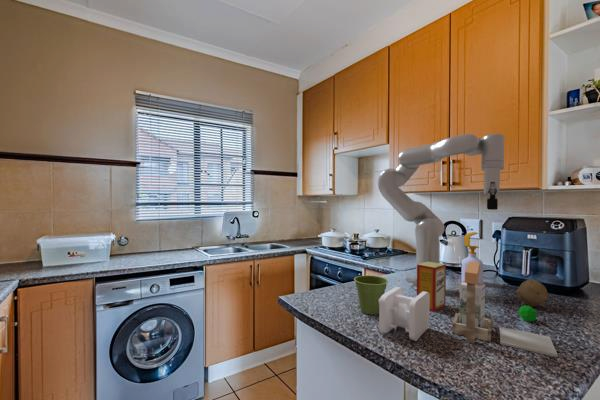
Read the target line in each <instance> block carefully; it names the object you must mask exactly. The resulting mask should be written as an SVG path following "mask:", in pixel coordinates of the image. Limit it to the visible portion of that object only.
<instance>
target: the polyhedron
mask: <svg viewBox="0 0 600 400" xmlns="http://www.w3.org/2000/svg"><path fill="white" fill-rule="evenodd" d="M518 315H519V317H520V318H521V319H522V320H524V321H525V322H527V323H528V322H529V323H532V322H534V321H536V320H537V317H538V312H537V310H536V309H534V307H533V306H530V305H527V304H526V305H522V306H520V307H519V309H518Z"/></svg>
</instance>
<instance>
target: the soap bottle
mask: <svg viewBox="0 0 600 400" xmlns="http://www.w3.org/2000/svg"><path fill="white" fill-rule="evenodd" d="M478 234H479V233H478V232H476V231H472V232H469V233H466V234H465V235H464V237H463V238H464V241H463V242H464V246H465V247H468V249H469V250H470V251H468V253H467V254H468V256H467V257H465V258H463V259H462V260H461V281H460V282H461V283H462V282H463V281H465V271H466V268H467V265H468V263H469V262H479V263H480V272H479V278H478V283H482V284H484V263H483V261H482V260H481V259H479V258H478V257H477V252H476V251H475V250H476V249H479V246H478V245H477V246H476V245H470V244H471V237H472V236H475V235H478Z"/></svg>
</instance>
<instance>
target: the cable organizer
mask: <svg viewBox="0 0 600 400" xmlns="http://www.w3.org/2000/svg"><path fill="white" fill-rule="evenodd" d="M379 303H380V304H379V318H378V319H379V320H378V325H379V326H378V327H379V328H378V329H379V331H380V332H381V333H384V334H388V333H389V332H390V331H392V330H393V329H394V331H397V328H398V327H400V328H403V329H404V330H405V331H404V333H405V334H407V333H408V337H409V340H411V341H414V342H418V340H419V338H420V337H421V336H422V335H423V334H425V332H426V330H427V329H428V328H429V326H430V311H429V304H430V295H429V292H425V291H423V292H422V293H420V294H419V295H418V296H417V295H416V296H415V297H413V296H412V297H411V296H406V295H404V289H403V287H399V286H395V287H393V288H391V289H389V290H388V291H386V292H385V293H384V294H383V295H382V296H381V298H380V299H379Z"/></svg>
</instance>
